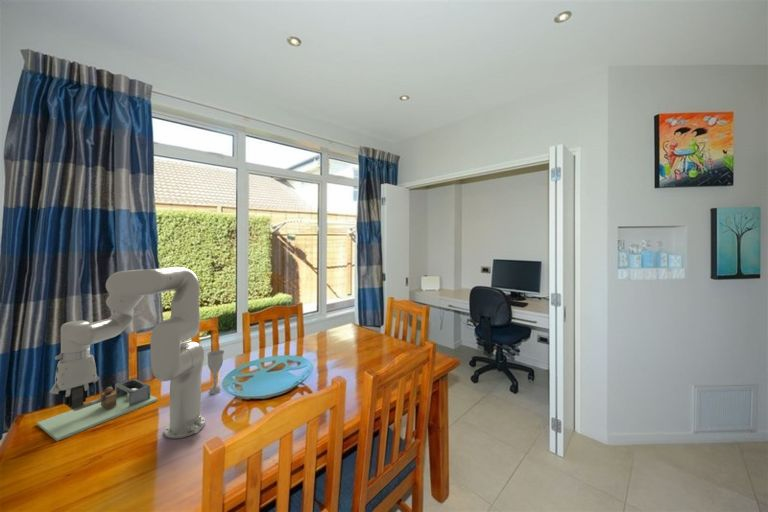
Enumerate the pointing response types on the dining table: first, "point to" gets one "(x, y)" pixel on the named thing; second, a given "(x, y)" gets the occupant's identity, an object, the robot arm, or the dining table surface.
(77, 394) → the striker
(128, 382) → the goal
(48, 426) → the plate
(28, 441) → the dining table surface
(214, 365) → the chalice
